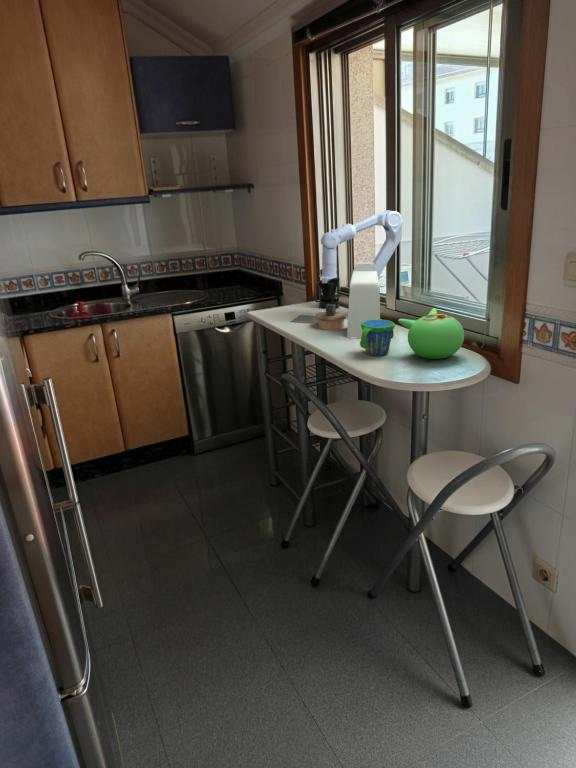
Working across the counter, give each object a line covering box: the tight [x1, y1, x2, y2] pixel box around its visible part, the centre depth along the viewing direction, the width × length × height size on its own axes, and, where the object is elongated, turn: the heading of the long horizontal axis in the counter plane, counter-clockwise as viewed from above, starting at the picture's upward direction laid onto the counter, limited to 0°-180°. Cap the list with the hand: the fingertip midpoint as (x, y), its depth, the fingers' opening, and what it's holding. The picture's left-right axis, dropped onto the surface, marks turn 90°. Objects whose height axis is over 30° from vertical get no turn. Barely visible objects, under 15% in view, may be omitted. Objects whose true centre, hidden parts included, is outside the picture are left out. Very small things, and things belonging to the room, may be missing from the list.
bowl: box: [318, 319, 345, 331], centre depth 210 cm, size 10×10×4 cm
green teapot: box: [397, 307, 465, 360], centre depth 170 cm, size 18×17×15 cm
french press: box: [314, 268, 340, 310], centre depth 242 cm, size 12×9×23 cm
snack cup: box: [359, 318, 396, 357], centre depth 176 cm, size 16×10×10 cm
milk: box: [346, 262, 381, 338], centre depth 197 cm, size 12×12×26 cm
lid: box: [314, 304, 347, 321], centre depth 209 cm, size 12×12×5 cm
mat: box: [289, 314, 319, 325], centre depth 223 cm, size 13×13×1 cm
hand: (329, 298), depth 218 cm, fingers open, 7 cm apart
